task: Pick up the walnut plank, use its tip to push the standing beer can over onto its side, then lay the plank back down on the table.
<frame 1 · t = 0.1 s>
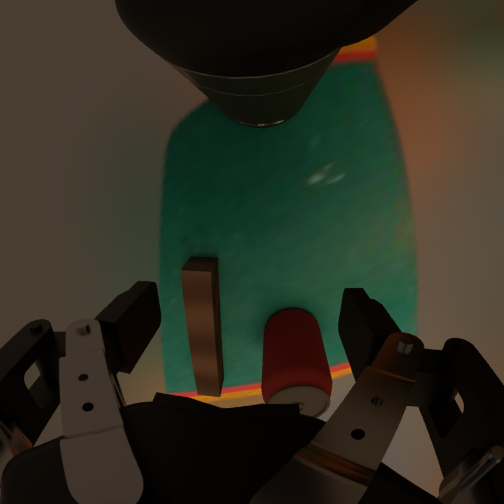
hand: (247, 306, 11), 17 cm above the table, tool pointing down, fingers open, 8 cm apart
beer can: (291, 328, 32), on the table
walnut plank: (209, 325, 33), on the table
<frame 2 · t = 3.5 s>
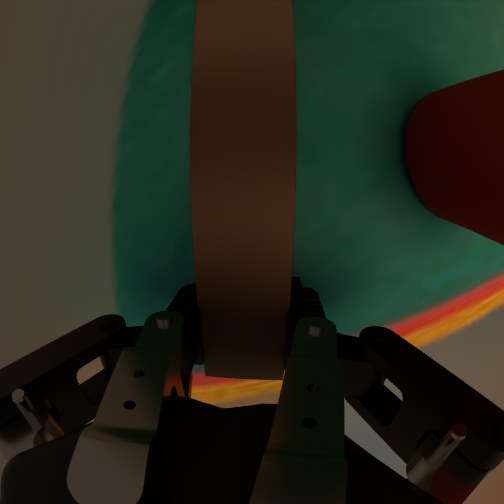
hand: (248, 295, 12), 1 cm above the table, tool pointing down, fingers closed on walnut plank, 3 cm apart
beer can: (449, 156, 10), on the table
walnut plank: (251, 134, 11), on the table, touching gripper
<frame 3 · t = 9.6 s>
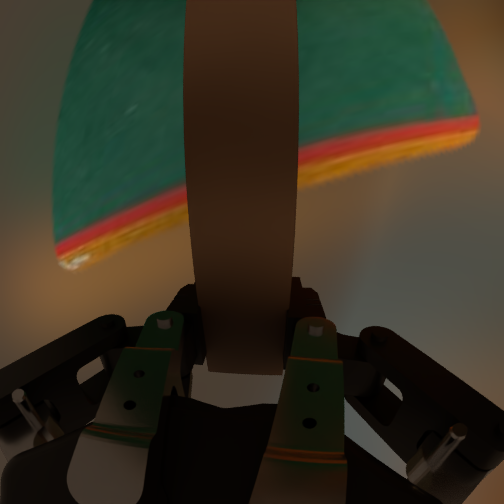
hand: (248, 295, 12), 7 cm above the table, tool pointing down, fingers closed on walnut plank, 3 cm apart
walnut plank: (250, 128, 10), point 7 cm above the table, tilted 7°, touching gripper
when the fingers open (2 cm above the table, at t = 15.0 s): walnut plank drops 2 cm, on the table.
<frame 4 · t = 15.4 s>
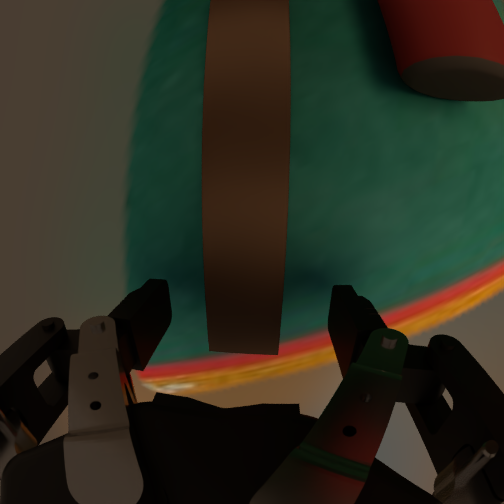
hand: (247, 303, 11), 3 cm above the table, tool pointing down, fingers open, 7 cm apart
beer can: (465, 92, 7), point 3 cm above the table
walnut plank: (252, 139, 12), on the table
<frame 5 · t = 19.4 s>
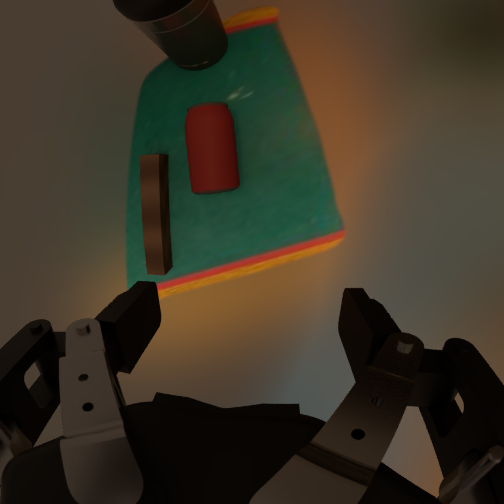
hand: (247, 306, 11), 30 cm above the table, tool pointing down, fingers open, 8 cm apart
beer can: (216, 193, 37), point 3 cm above the table
walnut plank: (161, 212, 41), on the table
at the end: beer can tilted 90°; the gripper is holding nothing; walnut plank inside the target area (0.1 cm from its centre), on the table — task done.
